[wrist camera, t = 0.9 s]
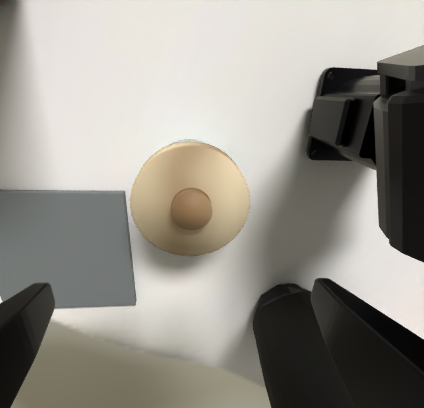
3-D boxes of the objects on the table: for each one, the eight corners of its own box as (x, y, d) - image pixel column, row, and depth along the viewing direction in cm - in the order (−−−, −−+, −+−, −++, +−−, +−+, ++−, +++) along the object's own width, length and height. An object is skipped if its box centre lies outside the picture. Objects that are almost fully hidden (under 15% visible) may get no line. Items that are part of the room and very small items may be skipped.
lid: (249, 142, 16) (260, 151, 14) (239, 241, 19) (246, 261, 17) (130, 139, 15) (120, 148, 13) (139, 243, 18) (132, 264, 16)
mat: (124, 190, 20) (123, 193, 20) (136, 300, 25) (135, 305, 25) (-34, 189, 19) (-40, 192, 19) (9, 305, 24) (5, 310, 23)
